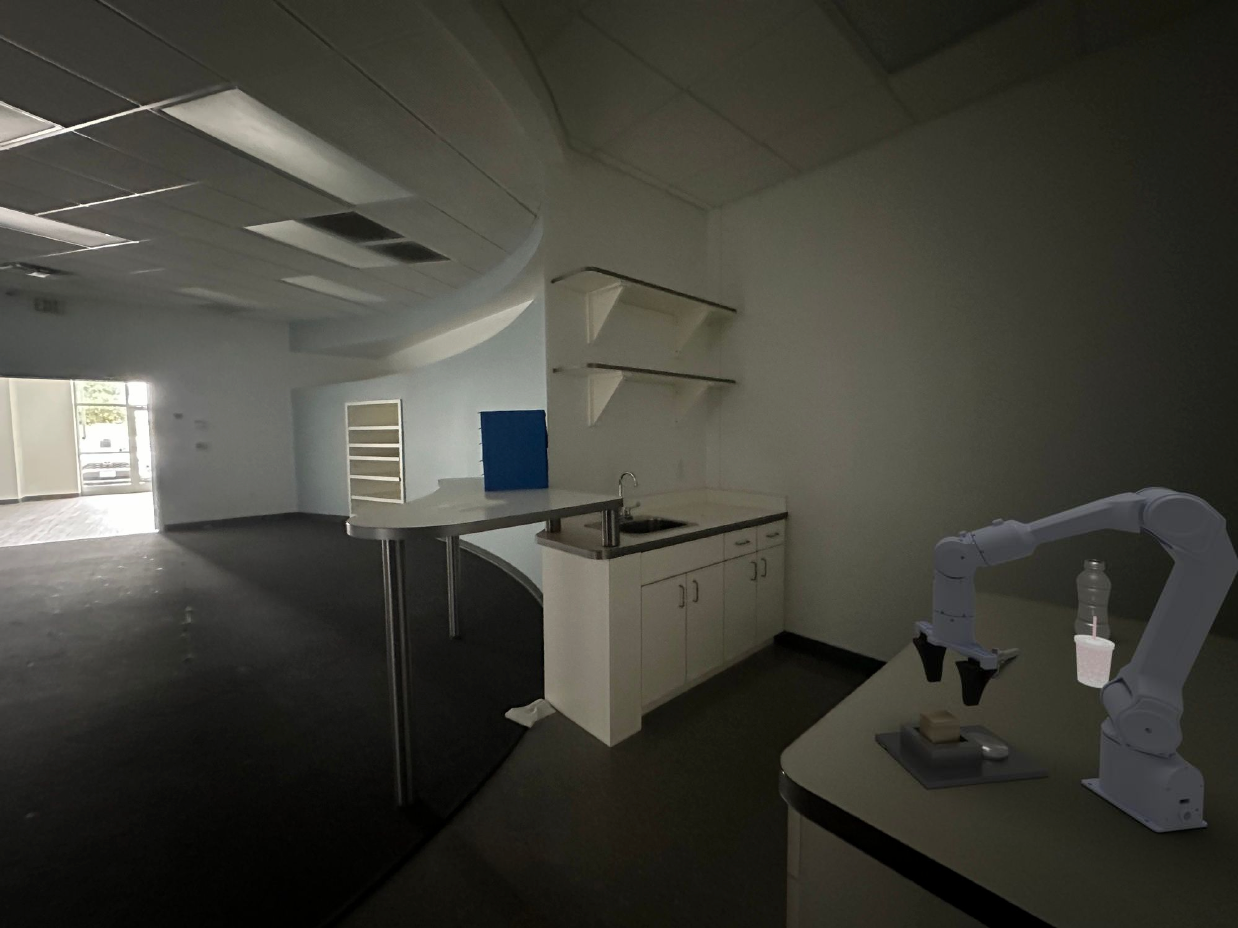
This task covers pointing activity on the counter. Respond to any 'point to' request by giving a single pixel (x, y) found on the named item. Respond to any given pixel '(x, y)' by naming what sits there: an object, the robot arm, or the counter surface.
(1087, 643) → the beverage cup
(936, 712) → the cardboard box
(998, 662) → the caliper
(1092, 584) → the plastic bottle
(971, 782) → the black tray
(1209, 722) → the counter surface
